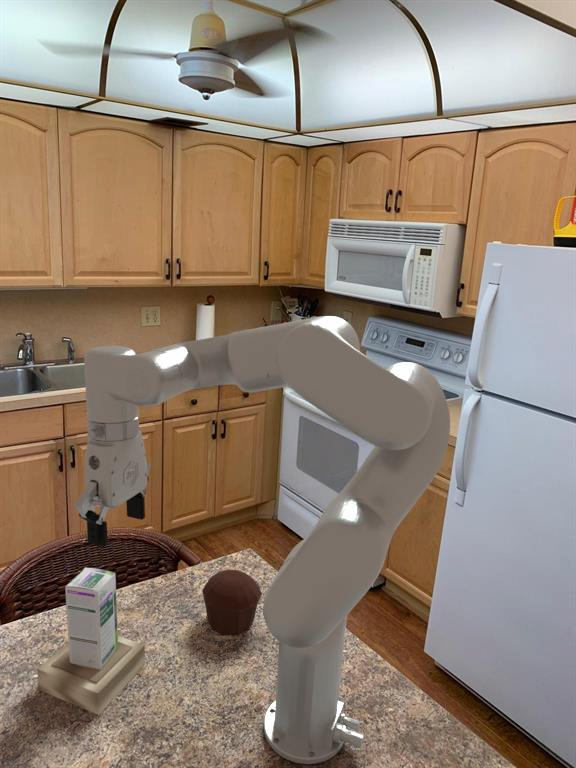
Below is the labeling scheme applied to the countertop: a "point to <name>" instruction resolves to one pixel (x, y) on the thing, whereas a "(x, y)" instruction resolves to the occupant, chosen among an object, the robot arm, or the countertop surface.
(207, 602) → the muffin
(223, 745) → the countertop surface
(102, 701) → the base block
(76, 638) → the syrup box
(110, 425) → the robot arm
